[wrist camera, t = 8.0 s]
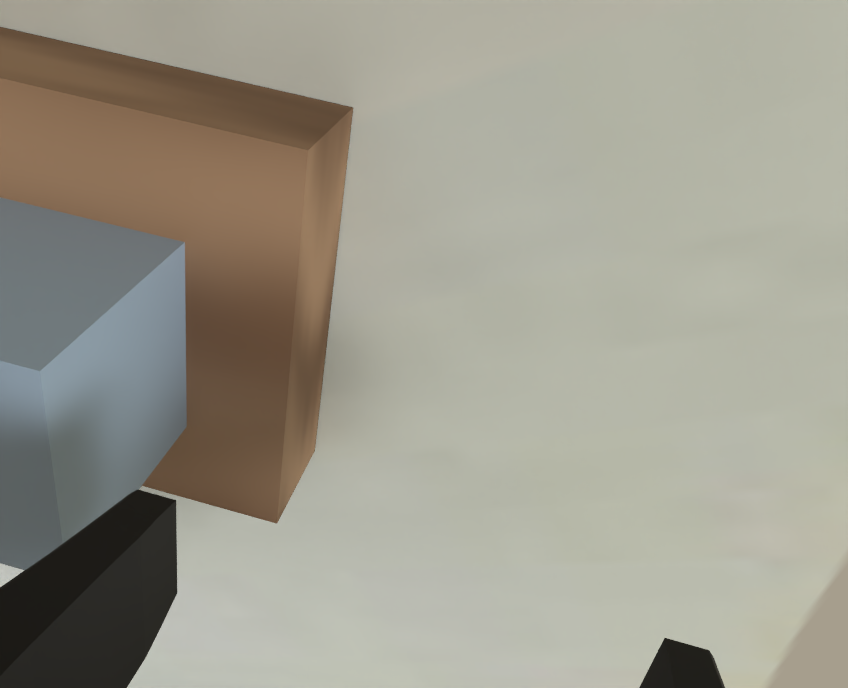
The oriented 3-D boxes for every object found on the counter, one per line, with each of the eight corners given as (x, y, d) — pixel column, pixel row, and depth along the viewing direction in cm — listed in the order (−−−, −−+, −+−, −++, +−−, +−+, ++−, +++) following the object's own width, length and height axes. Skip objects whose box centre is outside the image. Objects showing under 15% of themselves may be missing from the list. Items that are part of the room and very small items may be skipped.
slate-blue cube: (187, 426, 20) (67, 582, 15) (-3, 376, 20) (-167, 514, 16) (184, 241, 17) (39, 371, 13) (-34, 188, 17) (-242, 296, 13)
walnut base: (314, 450, 23) (276, 523, 21) (-6, 364, 24) (-79, 423, 22) (352, 107, 18) (308, 150, 15) (-62, 12, 19) (-168, 38, 16)
